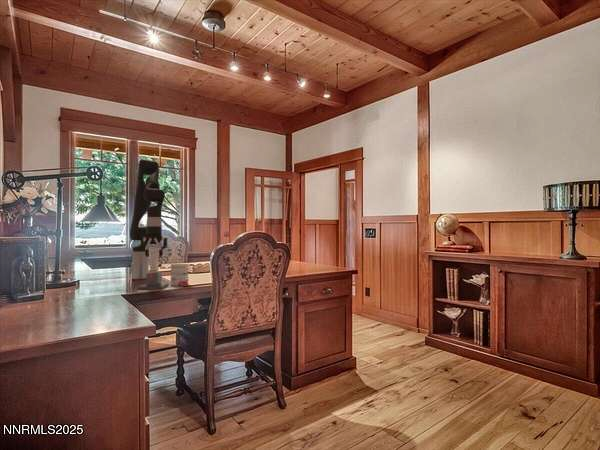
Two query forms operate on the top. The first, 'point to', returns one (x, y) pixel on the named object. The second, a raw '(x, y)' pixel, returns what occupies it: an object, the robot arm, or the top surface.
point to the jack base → (153, 282)
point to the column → (153, 259)
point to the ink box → (179, 274)
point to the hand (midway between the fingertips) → (154, 256)
